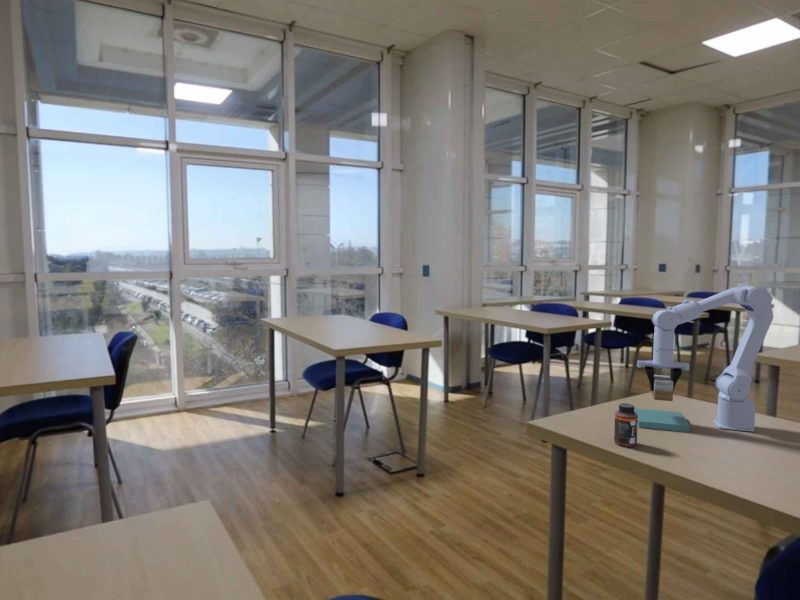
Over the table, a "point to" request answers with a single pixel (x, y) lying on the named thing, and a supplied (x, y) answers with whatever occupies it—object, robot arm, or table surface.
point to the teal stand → (662, 420)
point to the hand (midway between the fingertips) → (661, 391)
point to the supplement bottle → (626, 425)
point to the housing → (663, 388)
